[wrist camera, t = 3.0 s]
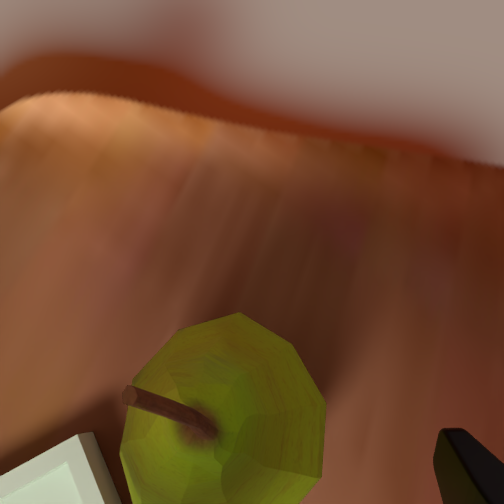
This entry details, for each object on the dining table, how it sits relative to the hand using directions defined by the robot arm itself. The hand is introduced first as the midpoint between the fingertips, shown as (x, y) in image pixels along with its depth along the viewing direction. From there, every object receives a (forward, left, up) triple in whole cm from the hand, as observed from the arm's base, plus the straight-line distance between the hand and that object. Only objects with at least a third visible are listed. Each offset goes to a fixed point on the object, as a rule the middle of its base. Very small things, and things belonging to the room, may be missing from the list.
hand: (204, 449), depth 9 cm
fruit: (0, 0, -8) cm, 8 cm away
